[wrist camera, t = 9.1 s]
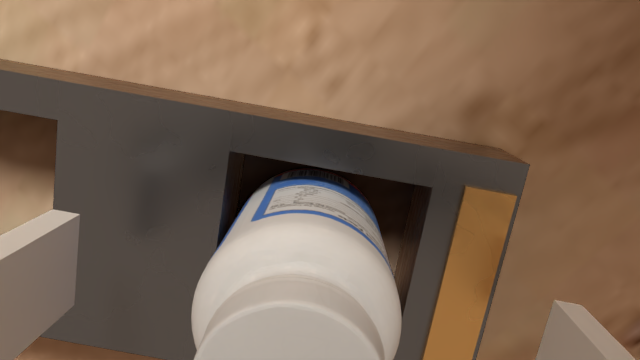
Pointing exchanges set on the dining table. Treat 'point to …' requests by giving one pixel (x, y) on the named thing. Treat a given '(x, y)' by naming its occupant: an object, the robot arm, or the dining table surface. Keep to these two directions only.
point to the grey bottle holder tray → (222, 200)
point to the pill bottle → (299, 278)
